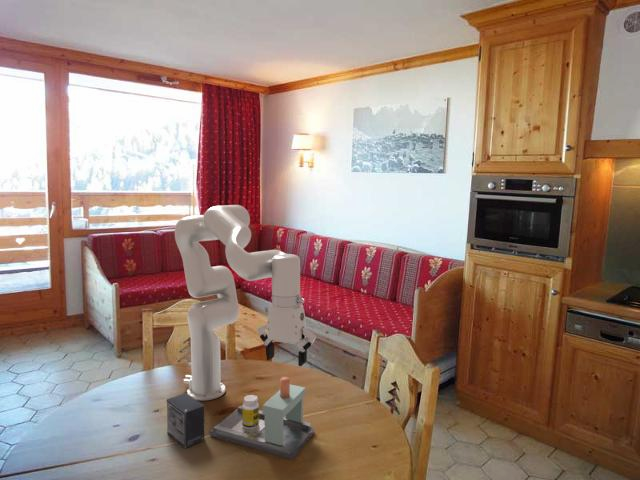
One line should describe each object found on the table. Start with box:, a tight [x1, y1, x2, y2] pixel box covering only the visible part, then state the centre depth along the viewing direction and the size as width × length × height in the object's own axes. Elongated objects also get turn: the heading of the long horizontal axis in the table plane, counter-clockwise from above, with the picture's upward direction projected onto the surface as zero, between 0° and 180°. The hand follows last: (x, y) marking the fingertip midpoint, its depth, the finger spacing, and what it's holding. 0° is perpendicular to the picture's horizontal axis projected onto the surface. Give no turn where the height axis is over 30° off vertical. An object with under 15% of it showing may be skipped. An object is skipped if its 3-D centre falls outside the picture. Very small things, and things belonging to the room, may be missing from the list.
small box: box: [166, 392, 205, 449], centre depth 130 cm, size 11×6×10 cm, turn 45°
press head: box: [262, 376, 306, 445], centre depth 128 cm, size 6×14×15 cm, turn 157°
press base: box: [209, 405, 315, 461], centre depth 132 cm, size 26×14×3 cm, turn 67°
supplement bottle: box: [241, 394, 260, 429], centre depth 133 cm, size 5×5×8 cm
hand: (286, 361), depth 126 cm, fingers open, 9 cm apart
